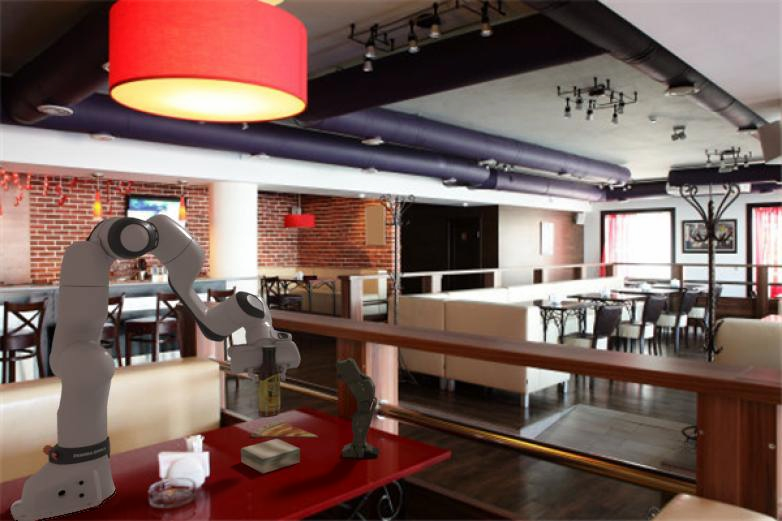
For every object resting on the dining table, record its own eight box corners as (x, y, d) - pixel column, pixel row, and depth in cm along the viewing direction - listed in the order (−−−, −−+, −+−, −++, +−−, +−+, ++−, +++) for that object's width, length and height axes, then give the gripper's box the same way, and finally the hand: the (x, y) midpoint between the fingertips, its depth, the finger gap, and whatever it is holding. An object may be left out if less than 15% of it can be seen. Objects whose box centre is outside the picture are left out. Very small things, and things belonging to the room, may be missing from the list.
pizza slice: (275, 450, 179) (275, 444, 179) (241, 433, 195) (241, 427, 195) (318, 438, 189) (318, 432, 189) (282, 424, 206) (282, 418, 206)
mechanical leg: (392, 447, 175) (367, 351, 176) (389, 456, 168) (363, 356, 168) (348, 457, 177) (323, 362, 177) (344, 466, 170) (318, 367, 170)
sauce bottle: (270, 419, 163) (269, 348, 162) (253, 416, 166) (252, 347, 165) (285, 413, 169) (284, 345, 168) (268, 410, 171) (267, 343, 171)
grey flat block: (262, 473, 159) (262, 459, 159) (241, 462, 168) (240, 448, 168) (300, 462, 167) (299, 448, 167) (277, 451, 176) (277, 438, 176)
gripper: (227, 338, 169) (233, 379, 160) (296, 333, 177) (305, 371, 168) (225, 351, 173) (231, 391, 164) (292, 345, 181) (301, 383, 173)
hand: (269, 381), depth 166 cm, fingers closed on sauce bottle, 6 cm apart
